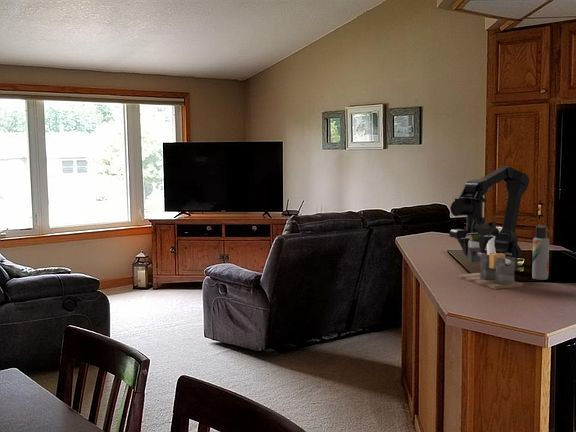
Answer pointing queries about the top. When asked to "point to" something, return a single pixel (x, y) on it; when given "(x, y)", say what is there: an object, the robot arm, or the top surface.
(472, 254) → the shaft
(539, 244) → the lotion bottle
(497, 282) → the shaft stand
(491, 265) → the spacer
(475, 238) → the house plant
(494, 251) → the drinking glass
